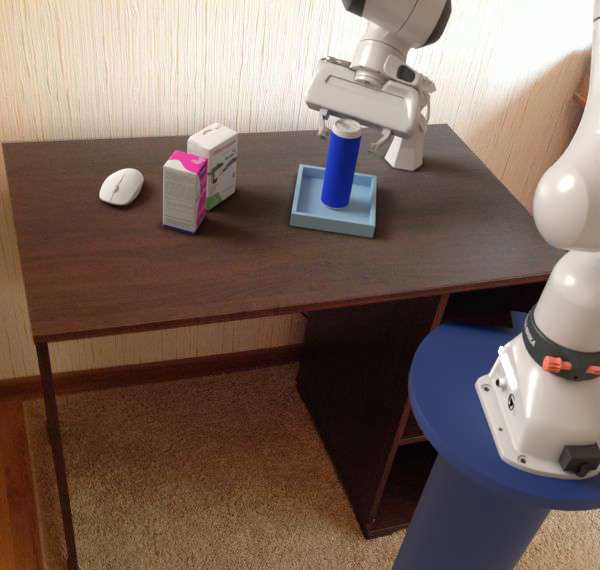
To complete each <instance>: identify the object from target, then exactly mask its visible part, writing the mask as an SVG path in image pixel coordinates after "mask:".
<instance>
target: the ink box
mask: <svg viewBox="0 0 600 570" xmlns="http://www.w3.org/2000/svg"><path fill="white" fill-rule="evenodd" d="M238 146H239V131H236V130H234V129H232V128H230V127H227V126H225V125H224V124H222V123H220V122H213V123H212V124H210V125H208V126H207V127H205V128H203V129H201V130H200V131H198V132H196V133H194V134H192V135H190V136H189V138H188V139H187V147H186V148H187V152H186V153H189V154H193V155H197V156H201V157H205V158H208V170H207V187H206V206H205V211H207V212H208V211H210V210H212V209H213V208H214V207H216V206H217V205H219V204H220V203H221V202H223V201H224V200H226V199H227V198H229V197H230V196H231V195H233V194H234V193H236V181H237V180H236V179H237V178H236V177H237V163H238V162H237V161H238Z"/></svg>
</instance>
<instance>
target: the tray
mask: <svg viewBox="0 0 600 570" xmlns="http://www.w3.org/2000/svg"><path fill="white" fill-rule="evenodd" d="M325 169H326V167H322V166H315V165H309V164H303V163H299V166H298V172H297V179H296V183H295V190H294V195H293V201H292V207H291V213H290V220H289V226H292V227H298V228H304V229H311V230H318V231H325V232H330V233H337V234H344V235H351V236H357V237H364V238H370V239H373V238H374V233H375V228H376V215H377V213H376V211H377V184H378V183H377V180H378V179H377V178H378V176H377V175H374V174H367V173H361V172H355V174H354V179H353V184H352V190H351V195H350V200H349V204H348V205H347V206H346V207H345V208H343V209H340V210H333V209H329V208H327V207H326V206H325V205H324V204H323V203H322V201H321V194H322V188H323V182H324V175H325Z"/></svg>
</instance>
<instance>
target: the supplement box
mask: <svg viewBox="0 0 600 570" xmlns="http://www.w3.org/2000/svg"><path fill="white" fill-rule="evenodd" d="M162 167H163V168H162V169H163V171H162V172H163V173H162V175H163V176H162V177H163V178H162V184H163V186H162V228H166V229H169V230H174V231H178V232H181V233H186V234H189V235H195V234H196V232H197V230H198V228H199V227H200V225H201V224H202V222H203V220H204V219H205V218H206V210H205V206H206V187H207V170H208V158H205V157H201V156H197V155H193V154H189V153H187V152H185V151H182V150H178V149H175V151H174V152H173V153H172V155H171V156H169V158H168V160H167V161H165V163H164V165H163V166H162Z"/></svg>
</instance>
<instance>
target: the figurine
mask: <svg viewBox="0 0 600 570" xmlns="http://www.w3.org/2000/svg"><path fill="white" fill-rule="evenodd" d="M418 73H419V74H420V75H421V77H422V80H423V93H422V96H421V98H420V116H419V120H418V124H417V127H416V130H415V133H414V135H413V136H412V137H411V138H409V139H403V138H400V137H397V136H394V137H393V140H392V141H391V144H390V146H389V148H388V150H387V152H386V154H385V156H384V160H385V161H386V162H387V163H388V164H390V166H391V167H392V168H394V169H399V170H405V171H412V172H413V171H415V170H416V169H418V168H420V166H422V165H423V159H424V158H423V156H424V155H423V154H424V153H423V152H424V141H425V135H426V133H427V131H428V130H429V129H428V124H429V121H430V117H431V94H433V93H435V92H437V87H436V83H435V82H434V81H433V80H431V79H430V76H426V75H424V74H423V73H422V72H418ZM425 107H427V110H426V117H425V115H424V114H423V113H422V112H423V110H424V108H425Z"/></svg>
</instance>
